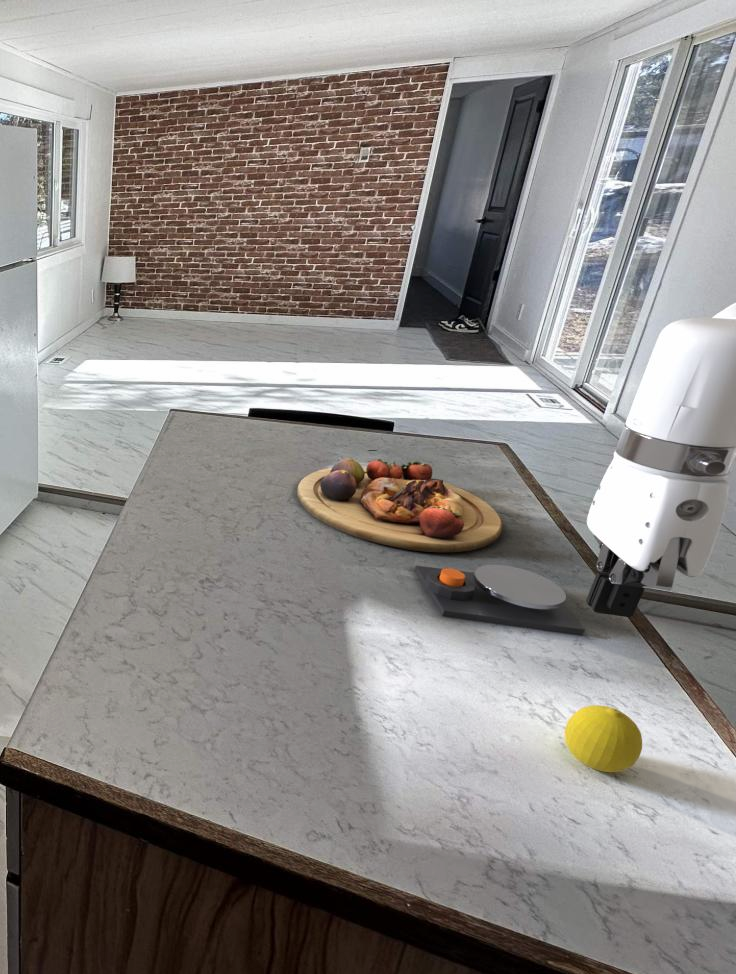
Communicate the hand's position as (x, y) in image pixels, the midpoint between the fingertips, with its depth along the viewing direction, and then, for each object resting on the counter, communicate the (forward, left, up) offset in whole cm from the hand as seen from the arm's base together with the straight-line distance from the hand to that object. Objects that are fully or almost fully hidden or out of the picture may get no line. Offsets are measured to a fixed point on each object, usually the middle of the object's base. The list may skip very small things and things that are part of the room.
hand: (608, 610), depth 67 cm
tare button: (+3, -25, -14) cm, 29 cm away
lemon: (-1, +5, -17) cm, 18 cm away
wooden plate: (+2, -54, -17) cm, 57 cm away
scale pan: (-5, -25, -13) cm, 29 cm away
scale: (-3, -25, -17) cm, 30 cm away
